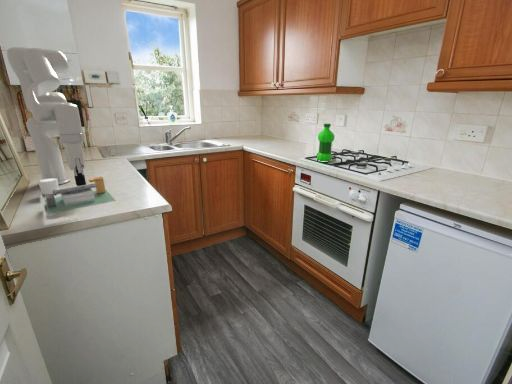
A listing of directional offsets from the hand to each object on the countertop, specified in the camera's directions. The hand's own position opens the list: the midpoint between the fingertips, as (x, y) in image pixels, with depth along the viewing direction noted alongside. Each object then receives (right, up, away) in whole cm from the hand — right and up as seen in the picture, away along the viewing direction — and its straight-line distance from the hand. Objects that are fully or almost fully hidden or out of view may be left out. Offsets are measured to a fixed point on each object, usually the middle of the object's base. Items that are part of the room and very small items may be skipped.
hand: (81, 184), depth 110 cm
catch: (+2, -3, +9) cm, 10 cm away
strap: (-1, -2, -1) cm, 3 cm away
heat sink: (-3, -7, -1) cm, 7 cm away
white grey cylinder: (-19, -4, +10) cm, 22 cm away
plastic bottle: (+115, +17, +76) cm, 139 cm away
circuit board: (-1, -7, +1) cm, 8 cm away
